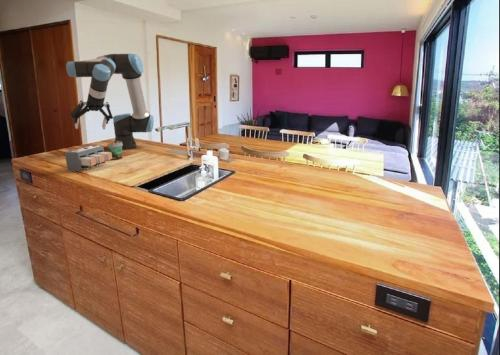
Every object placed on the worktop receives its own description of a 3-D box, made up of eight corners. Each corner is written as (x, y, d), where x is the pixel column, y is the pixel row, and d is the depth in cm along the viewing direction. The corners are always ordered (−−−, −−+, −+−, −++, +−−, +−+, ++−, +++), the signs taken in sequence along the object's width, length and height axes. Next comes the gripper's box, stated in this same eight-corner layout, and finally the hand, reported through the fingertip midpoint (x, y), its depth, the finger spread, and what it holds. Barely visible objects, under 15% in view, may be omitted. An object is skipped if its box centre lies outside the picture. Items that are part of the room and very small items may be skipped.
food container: (119, 161, 195) (117, 144, 192) (109, 161, 196) (107, 144, 193) (127, 156, 207) (125, 140, 204) (117, 156, 207) (115, 140, 204)
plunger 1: (96, 164, 175) (95, 157, 174) (91, 165, 172) (90, 159, 171) (84, 163, 177) (83, 156, 176) (79, 165, 174) (78, 158, 173)
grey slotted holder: (105, 162, 191) (103, 145, 188) (80, 171, 174) (77, 152, 171) (93, 161, 193) (90, 144, 190) (67, 170, 176) (64, 151, 173)
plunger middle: (104, 161, 181) (103, 155, 180) (99, 162, 178) (99, 156, 177) (93, 160, 183) (92, 154, 182) (88, 162, 180) (87, 155, 179)
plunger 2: (112, 158, 187) (111, 152, 186) (108, 160, 184) (107, 153, 183) (101, 157, 189) (100, 151, 188) (96, 159, 186) (95, 153, 185)
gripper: (71, 97, 153) (65, 132, 166) (124, 101, 170) (116, 132, 182) (67, 87, 157) (62, 122, 169) (119, 92, 173) (111, 123, 186)
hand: (90, 127), depth 176 cm, fingers open, 13 cm apart
